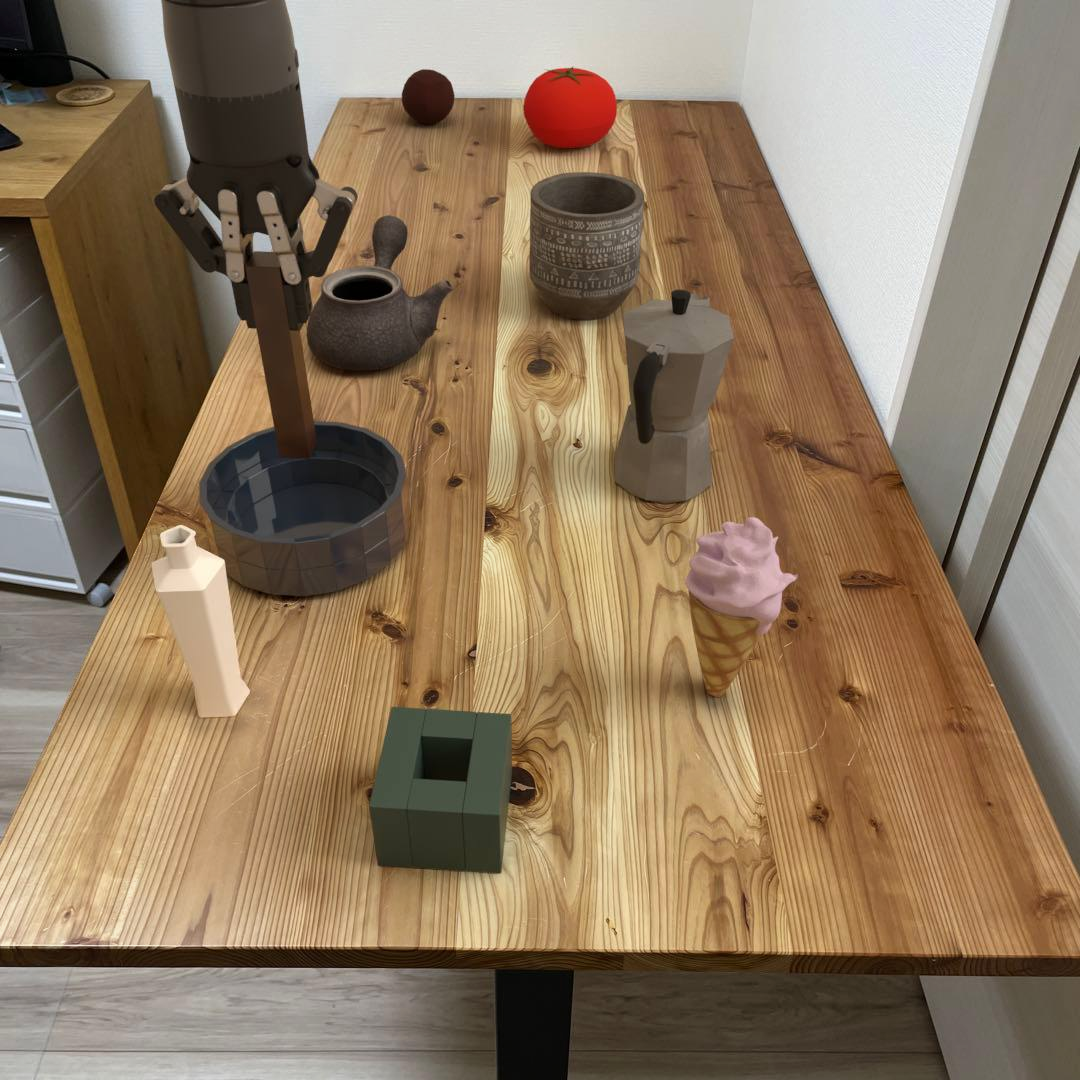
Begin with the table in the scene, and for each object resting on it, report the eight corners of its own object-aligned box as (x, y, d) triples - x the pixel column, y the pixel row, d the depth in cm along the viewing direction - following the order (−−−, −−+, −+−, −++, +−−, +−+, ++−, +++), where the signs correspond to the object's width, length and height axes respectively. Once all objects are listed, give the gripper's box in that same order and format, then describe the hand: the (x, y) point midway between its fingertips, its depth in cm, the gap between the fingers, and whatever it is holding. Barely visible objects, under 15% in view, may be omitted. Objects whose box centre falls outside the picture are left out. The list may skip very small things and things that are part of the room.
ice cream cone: (779, 682, 77) (816, 522, 68) (746, 740, 73) (781, 578, 63) (695, 648, 80) (719, 488, 70) (658, 702, 76) (679, 540, 66)
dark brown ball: (432, 108, 171) (430, 57, 166) (468, 124, 165) (466, 72, 160) (390, 119, 167) (386, 67, 162) (425, 136, 161) (422, 83, 156)
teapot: (454, 379, 108) (450, 289, 102) (301, 380, 108) (287, 289, 101) (459, 292, 123) (455, 208, 116) (324, 293, 122) (313, 209, 116)
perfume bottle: (206, 735, 73) (158, 572, 63) (178, 697, 76) (127, 534, 66) (266, 703, 75) (229, 540, 66) (237, 667, 78) (197, 505, 68)
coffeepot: (637, 424, 103) (652, 247, 91) (732, 448, 100) (760, 269, 88) (576, 515, 92) (584, 328, 80) (681, 545, 89) (705, 355, 77)
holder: (377, 865, 65) (368, 806, 62) (398, 766, 71) (391, 706, 67) (501, 874, 65) (499, 815, 61) (512, 773, 71) (511, 713, 67)
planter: (515, 319, 118) (514, 207, 110) (547, 271, 127) (548, 165, 119) (622, 336, 115) (629, 223, 107) (647, 286, 124) (655, 179, 116)
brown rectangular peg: (279, 457, 83) (244, 266, 73) (287, 440, 85) (254, 250, 74) (310, 459, 83) (279, 267, 72) (317, 441, 85) (288, 252, 74)
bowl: (186, 595, 84) (170, 536, 80) (244, 472, 96) (232, 416, 92) (391, 607, 83) (385, 548, 79) (423, 481, 95) (419, 425, 91)
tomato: (576, 121, 167) (578, 50, 160) (632, 145, 159) (637, 71, 153) (504, 141, 160) (503, 68, 153) (559, 167, 152) (561, 91, 146)
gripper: (101, 88, 63) (165, 346, 74) (334, 95, 62) (363, 355, 73) (145, 50, 69) (198, 296, 80) (359, 57, 68) (383, 303, 79)
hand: (277, 323), depth 77 cm, fingers closed on brown rectangular peg, 2 cm apart
